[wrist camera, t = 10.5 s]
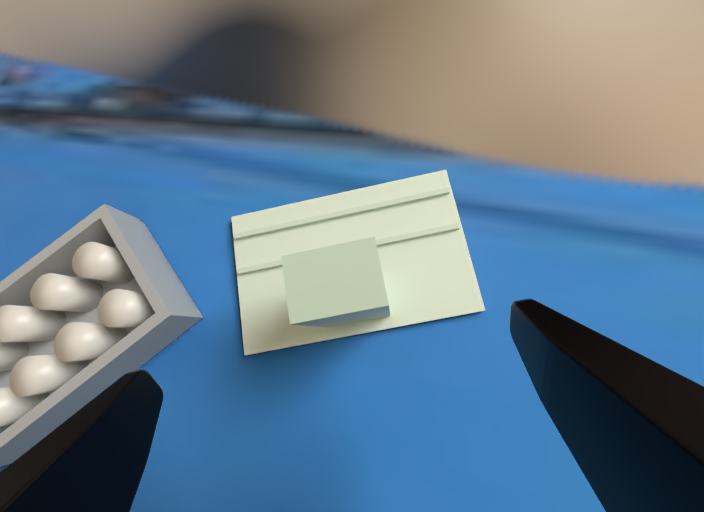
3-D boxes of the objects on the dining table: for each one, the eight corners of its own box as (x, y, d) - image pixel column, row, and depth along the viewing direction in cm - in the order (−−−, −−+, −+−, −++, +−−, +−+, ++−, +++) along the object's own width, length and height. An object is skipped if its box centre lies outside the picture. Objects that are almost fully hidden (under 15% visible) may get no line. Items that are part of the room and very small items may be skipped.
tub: (203, 317, 20) (170, 314, 17) (23, 459, 19) (-44, 481, 16) (143, 221, 22) (104, 203, 19) (-22, 346, 21) (-88, 348, 18)
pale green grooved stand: (481, 311, 18) (543, 296, 11) (250, 354, 19) (158, 368, 12) (443, 175, 20) (474, 82, 13) (237, 221, 21) (151, 159, 14)
